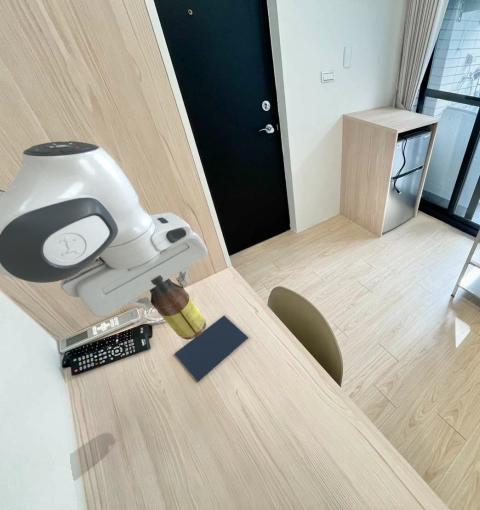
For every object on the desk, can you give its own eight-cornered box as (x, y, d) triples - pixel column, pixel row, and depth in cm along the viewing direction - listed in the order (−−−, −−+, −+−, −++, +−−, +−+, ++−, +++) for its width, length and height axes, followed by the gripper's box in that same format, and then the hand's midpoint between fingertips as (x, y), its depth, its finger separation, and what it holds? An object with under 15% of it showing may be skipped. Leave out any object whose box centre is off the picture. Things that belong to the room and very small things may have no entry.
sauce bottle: (201, 313, 66) (166, 254, 52) (211, 330, 63) (178, 271, 49) (173, 329, 63) (128, 270, 49) (182, 347, 59) (138, 290, 46)
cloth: (198, 381, 70) (197, 381, 69) (174, 354, 75) (174, 353, 75) (248, 337, 79) (248, 337, 79) (224, 315, 84) (224, 315, 84)
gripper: (59, 291, 37) (117, 341, 46) (197, 221, 48) (221, 273, 58) (45, 270, 39) (103, 321, 49) (179, 208, 51) (204, 260, 61)
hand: (167, 294), depth 53 cm, fingers closed on sauce bottle, 6 cm apart
